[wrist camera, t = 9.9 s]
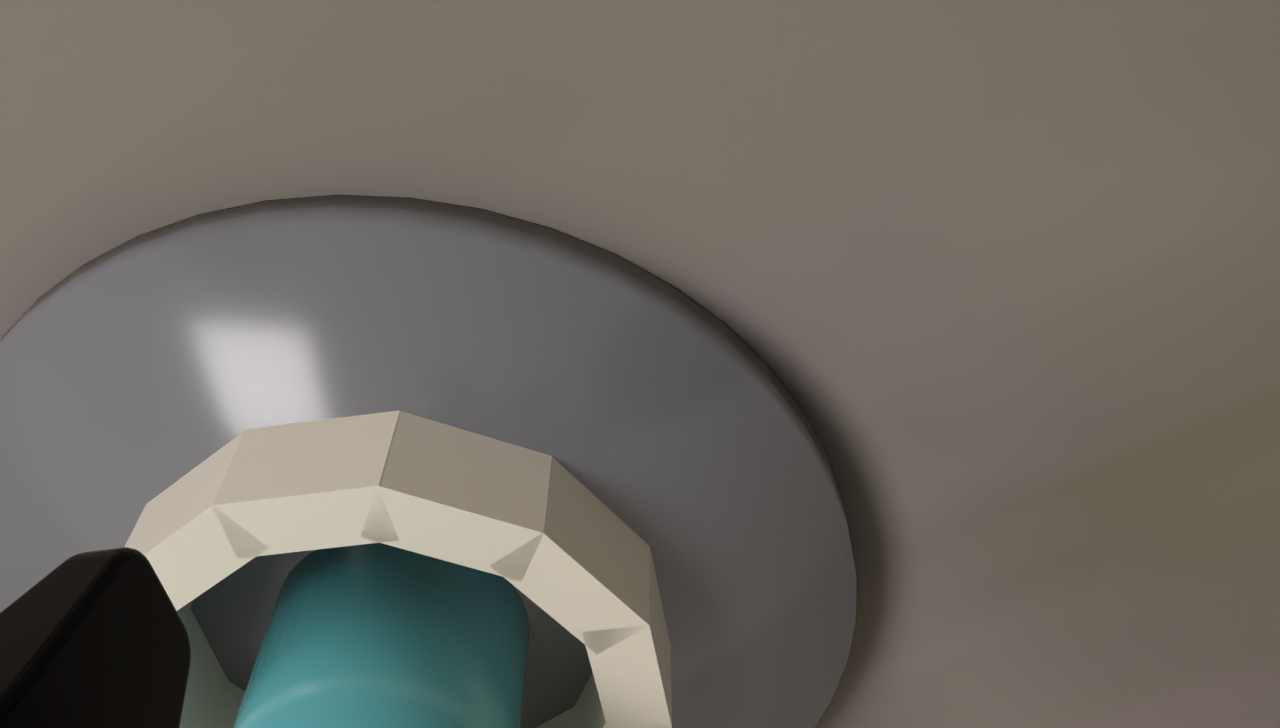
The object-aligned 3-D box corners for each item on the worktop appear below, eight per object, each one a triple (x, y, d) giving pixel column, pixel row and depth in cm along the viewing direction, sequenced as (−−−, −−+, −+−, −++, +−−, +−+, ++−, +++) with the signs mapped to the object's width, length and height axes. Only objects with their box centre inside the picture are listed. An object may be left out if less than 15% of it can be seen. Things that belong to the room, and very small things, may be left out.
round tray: (816, 122, 19) (840, 212, 17) (871, 813, 29) (891, 933, 27) (-239, 272, 21) (-359, 373, 18) (159, 876, 31) (117, 993, 28)
